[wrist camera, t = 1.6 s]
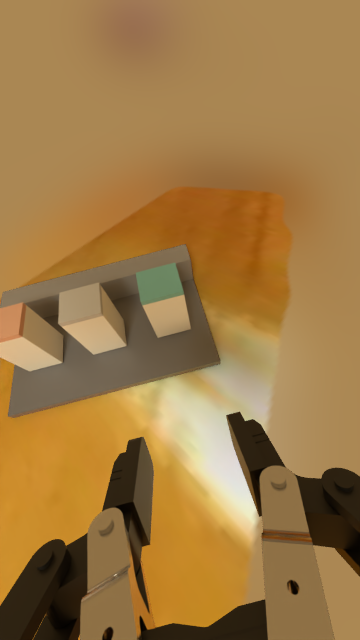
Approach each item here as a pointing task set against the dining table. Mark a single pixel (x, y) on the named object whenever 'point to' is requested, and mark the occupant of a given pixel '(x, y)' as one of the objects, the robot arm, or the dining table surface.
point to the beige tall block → (91, 318)
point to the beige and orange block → (28, 339)
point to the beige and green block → (163, 299)
